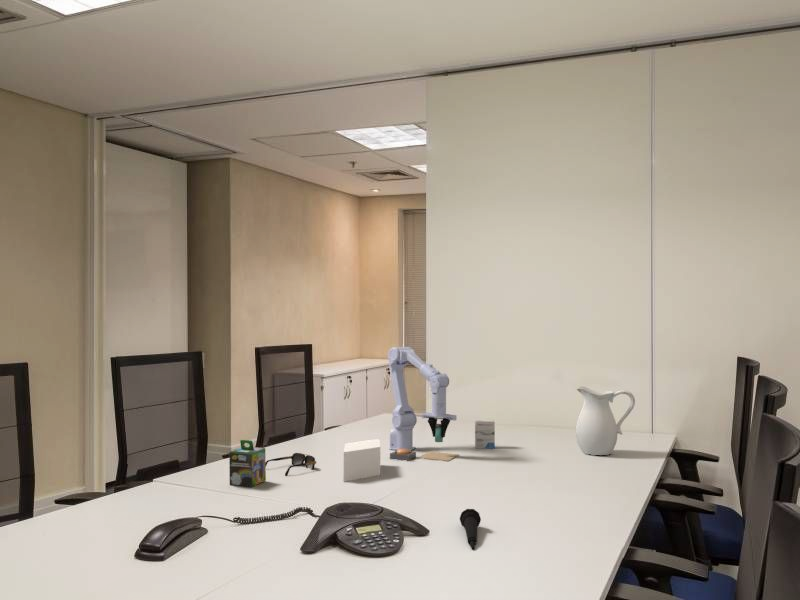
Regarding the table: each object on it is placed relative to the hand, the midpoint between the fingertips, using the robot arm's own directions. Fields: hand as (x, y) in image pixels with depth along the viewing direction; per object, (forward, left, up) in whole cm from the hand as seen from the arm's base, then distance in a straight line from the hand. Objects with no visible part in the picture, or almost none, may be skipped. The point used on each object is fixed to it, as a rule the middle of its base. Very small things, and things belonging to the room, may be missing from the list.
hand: (438, 436), depth 276 cm
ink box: (+11, +28, -8) cm, 31 cm away
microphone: (+43, -90, -9) cm, 100 cm away
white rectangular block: (-15, -39, -8) cm, 43 cm away
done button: (-12, -9, -7) cm, 16 cm away
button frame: (-12, -9, -8) cm, 17 cm away
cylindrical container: (0, 0, -2) cm, 2 cm away
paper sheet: (0, 0, -8) cm, 8 cm away
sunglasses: (-41, -46, -9) cm, 63 cm away
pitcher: (+61, +37, -8) cm, 72 cm away
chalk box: (-43, -70, -8) cm, 83 cm away
